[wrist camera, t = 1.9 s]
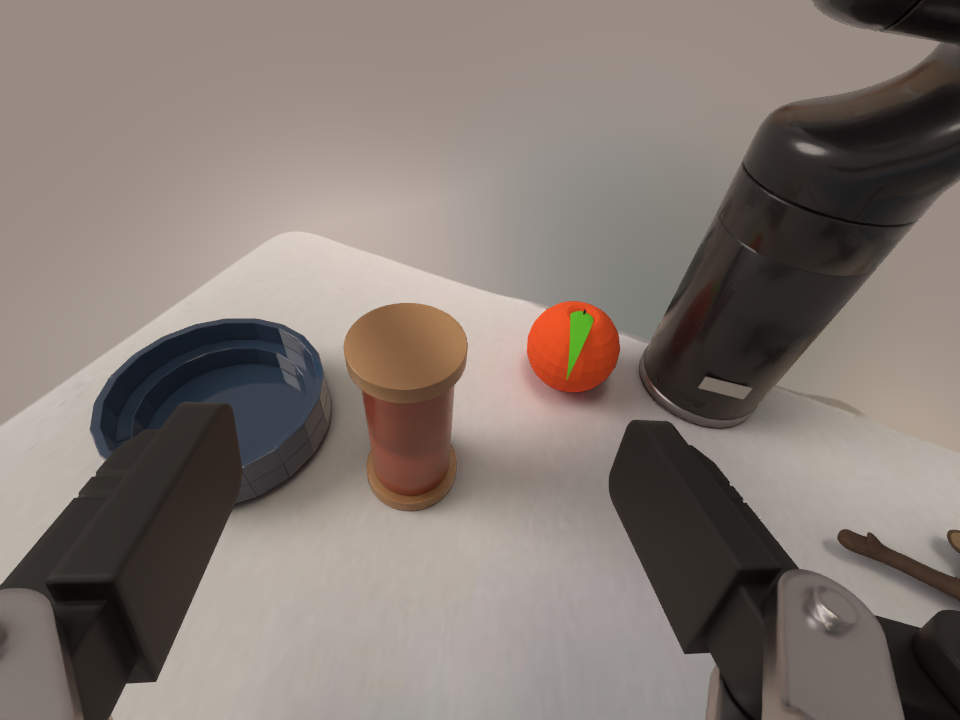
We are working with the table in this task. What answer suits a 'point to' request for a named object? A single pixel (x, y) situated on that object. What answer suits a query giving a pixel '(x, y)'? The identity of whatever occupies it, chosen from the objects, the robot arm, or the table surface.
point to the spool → (408, 399)
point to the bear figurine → (903, 559)
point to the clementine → (573, 346)
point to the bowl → (225, 393)
